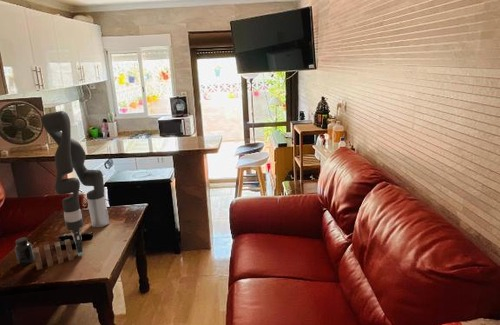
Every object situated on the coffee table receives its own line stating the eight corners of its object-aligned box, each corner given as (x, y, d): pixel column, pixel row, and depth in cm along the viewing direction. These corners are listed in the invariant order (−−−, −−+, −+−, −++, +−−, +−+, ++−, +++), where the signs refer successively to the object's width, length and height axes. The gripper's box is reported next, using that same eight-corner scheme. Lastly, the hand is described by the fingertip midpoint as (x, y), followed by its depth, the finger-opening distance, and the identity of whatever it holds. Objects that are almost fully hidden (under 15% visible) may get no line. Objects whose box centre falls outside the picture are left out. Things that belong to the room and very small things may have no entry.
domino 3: (62, 257, 178) (59, 241, 175) (63, 262, 174) (60, 245, 171) (57, 259, 177) (54, 242, 174) (58, 263, 173) (55, 247, 170)
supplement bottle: (23, 258, 179) (17, 236, 175) (37, 257, 179) (32, 235, 176) (15, 266, 172) (9, 243, 169) (30, 265, 173) (25, 242, 169)
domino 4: (72, 255, 180) (69, 238, 178) (74, 259, 176) (70, 242, 173) (67, 256, 179) (64, 240, 176) (69, 260, 175) (65, 244, 172)
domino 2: (52, 260, 176) (48, 244, 173) (53, 265, 172) (49, 248, 169) (47, 262, 175) (43, 245, 172) (48, 267, 170) (44, 250, 168)
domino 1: (41, 263, 173) (38, 247, 171) (42, 268, 169) (38, 251, 167) (36, 265, 172) (32, 248, 170) (37, 270, 168) (33, 253, 166)
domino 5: (81, 250, 182) (78, 234, 179) (83, 254, 178) (80, 238, 175) (76, 251, 181) (73, 235, 178) (78, 256, 177) (75, 239, 174)
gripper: (84, 221, 170) (90, 253, 175) (79, 211, 182) (85, 241, 187) (66, 225, 166) (73, 258, 171) (63, 215, 178) (69, 246, 183)
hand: (79, 249), depth 179 cm, fingers closed on domino 5, 5 cm apart
